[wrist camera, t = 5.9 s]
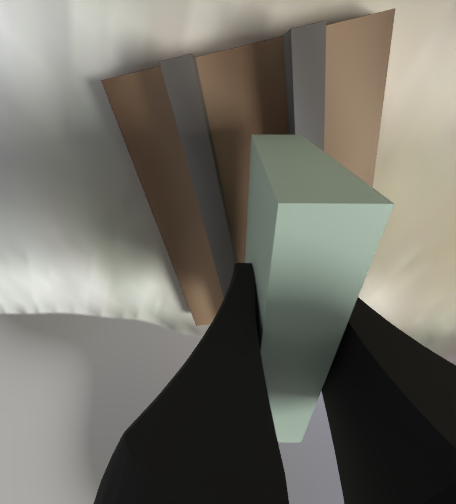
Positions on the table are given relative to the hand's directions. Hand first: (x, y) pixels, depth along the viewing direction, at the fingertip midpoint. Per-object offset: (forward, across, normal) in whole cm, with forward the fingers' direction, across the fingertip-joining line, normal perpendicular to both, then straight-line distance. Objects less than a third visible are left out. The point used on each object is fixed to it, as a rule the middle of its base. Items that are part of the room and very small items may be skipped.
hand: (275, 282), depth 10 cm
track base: (+7, 0, 0) cm, 7 cm away
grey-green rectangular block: (+3, 0, 0) cm, 3 cm away
